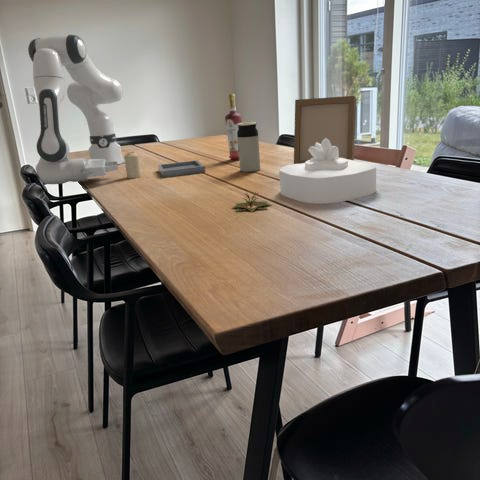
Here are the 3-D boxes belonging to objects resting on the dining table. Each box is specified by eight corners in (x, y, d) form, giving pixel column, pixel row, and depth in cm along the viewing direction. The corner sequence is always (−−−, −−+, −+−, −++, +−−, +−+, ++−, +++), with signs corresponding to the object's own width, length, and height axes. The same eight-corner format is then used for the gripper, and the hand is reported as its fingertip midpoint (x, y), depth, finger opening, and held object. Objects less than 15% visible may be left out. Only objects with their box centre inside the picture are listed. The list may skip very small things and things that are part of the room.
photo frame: (351, 168, 168) (351, 96, 161) (293, 168, 177) (291, 100, 169) (358, 161, 181) (358, 94, 174) (303, 162, 190) (301, 98, 182)
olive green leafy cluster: (231, 204, 136) (229, 189, 134) (272, 201, 135) (271, 186, 134) (229, 216, 124) (227, 199, 123) (274, 213, 124) (273, 196, 122)
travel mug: (262, 168, 184) (259, 121, 178) (257, 172, 176) (253, 123, 171) (243, 168, 186) (240, 122, 180) (237, 172, 179) (233, 124, 173)
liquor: (248, 158, 209) (243, 93, 200) (239, 161, 204) (234, 94, 195) (234, 157, 213) (229, 94, 204) (225, 160, 208) (219, 95, 198)
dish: (158, 170, 197) (157, 164, 196) (198, 165, 200) (197, 160, 200) (162, 177, 181) (161, 171, 180) (205, 172, 185) (204, 166, 184)
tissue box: (317, 207, 124) (315, 147, 119) (270, 192, 146) (267, 140, 140) (388, 191, 134) (389, 135, 129) (334, 179, 156) (334, 130, 150)
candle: (137, 178, 184) (134, 153, 181) (125, 178, 186) (121, 153, 182) (143, 175, 190) (139, 150, 186) (130, 175, 191) (127, 151, 187)
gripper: (78, 165, 171) (116, 161, 174) (81, 158, 190) (116, 154, 193) (81, 182, 173) (119, 177, 176) (84, 173, 192) (118, 169, 195)
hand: (117, 165), depth 185 cm, fingers open, 8 cm apart
